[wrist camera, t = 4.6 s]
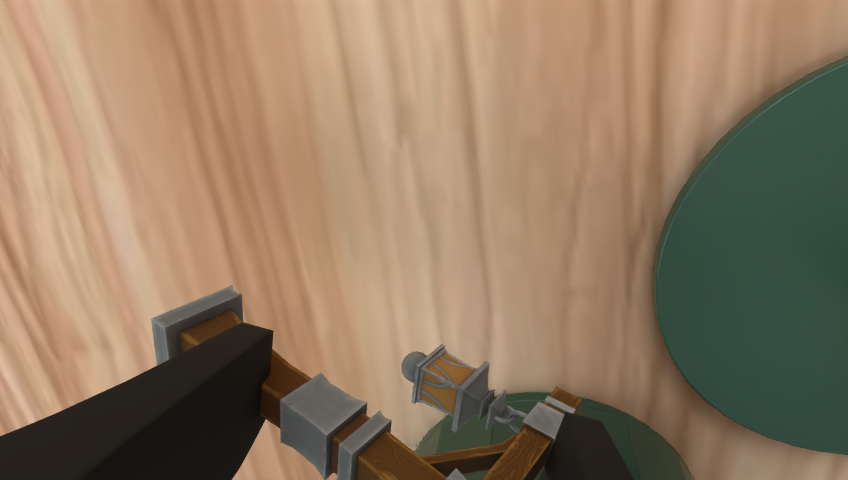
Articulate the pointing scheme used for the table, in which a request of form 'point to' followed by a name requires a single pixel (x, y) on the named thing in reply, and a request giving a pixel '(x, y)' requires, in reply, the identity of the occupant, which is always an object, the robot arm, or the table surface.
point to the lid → (767, 268)
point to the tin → (636, 442)
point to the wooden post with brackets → (370, 437)
